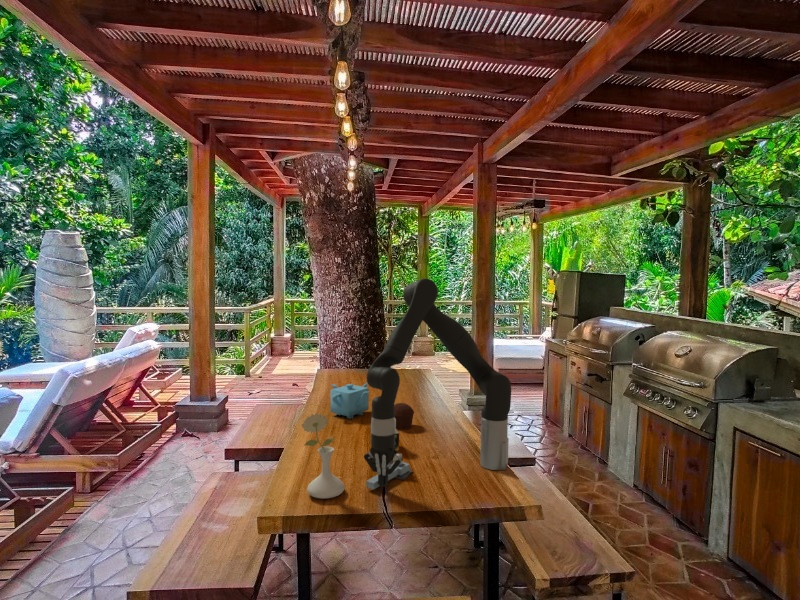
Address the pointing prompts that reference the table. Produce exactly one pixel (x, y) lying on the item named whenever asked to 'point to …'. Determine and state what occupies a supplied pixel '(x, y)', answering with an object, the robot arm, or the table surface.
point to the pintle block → (405, 473)
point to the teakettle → (349, 400)
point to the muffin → (403, 416)
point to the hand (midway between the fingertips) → (383, 485)
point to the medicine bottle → (396, 438)
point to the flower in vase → (326, 481)
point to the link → (400, 471)
